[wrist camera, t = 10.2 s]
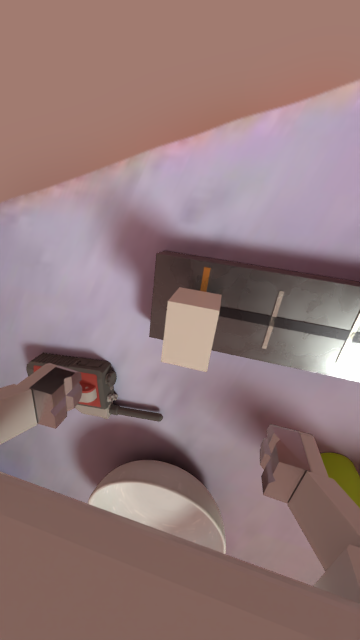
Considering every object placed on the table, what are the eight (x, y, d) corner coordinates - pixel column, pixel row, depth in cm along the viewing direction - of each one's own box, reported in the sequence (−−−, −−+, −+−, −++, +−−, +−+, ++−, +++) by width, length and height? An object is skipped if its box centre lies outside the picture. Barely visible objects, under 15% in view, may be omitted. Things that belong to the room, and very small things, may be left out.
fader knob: (222, 287, 22) (219, 310, 16) (212, 334, 24) (206, 372, 17) (185, 280, 22) (167, 301, 16) (178, 327, 24) (161, 361, 18)
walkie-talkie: (46, 396, 38) (165, 416, 34) (24, 416, 34) (156, 442, 30) (34, 348, 34) (164, 366, 31) (8, 365, 30) (154, 387, 27)
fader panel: (413, 290, 21) (441, 300, 19) (369, 370, 25) (387, 388, 22) (164, 250, 25) (156, 253, 22) (157, 326, 28) (149, 337, 25)
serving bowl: (247, 473, 35) (251, 527, 28) (201, 539, 43) (197, 592, 37) (119, 420, 36) (96, 461, 30) (100, 495, 45) (78, 539, 38)
